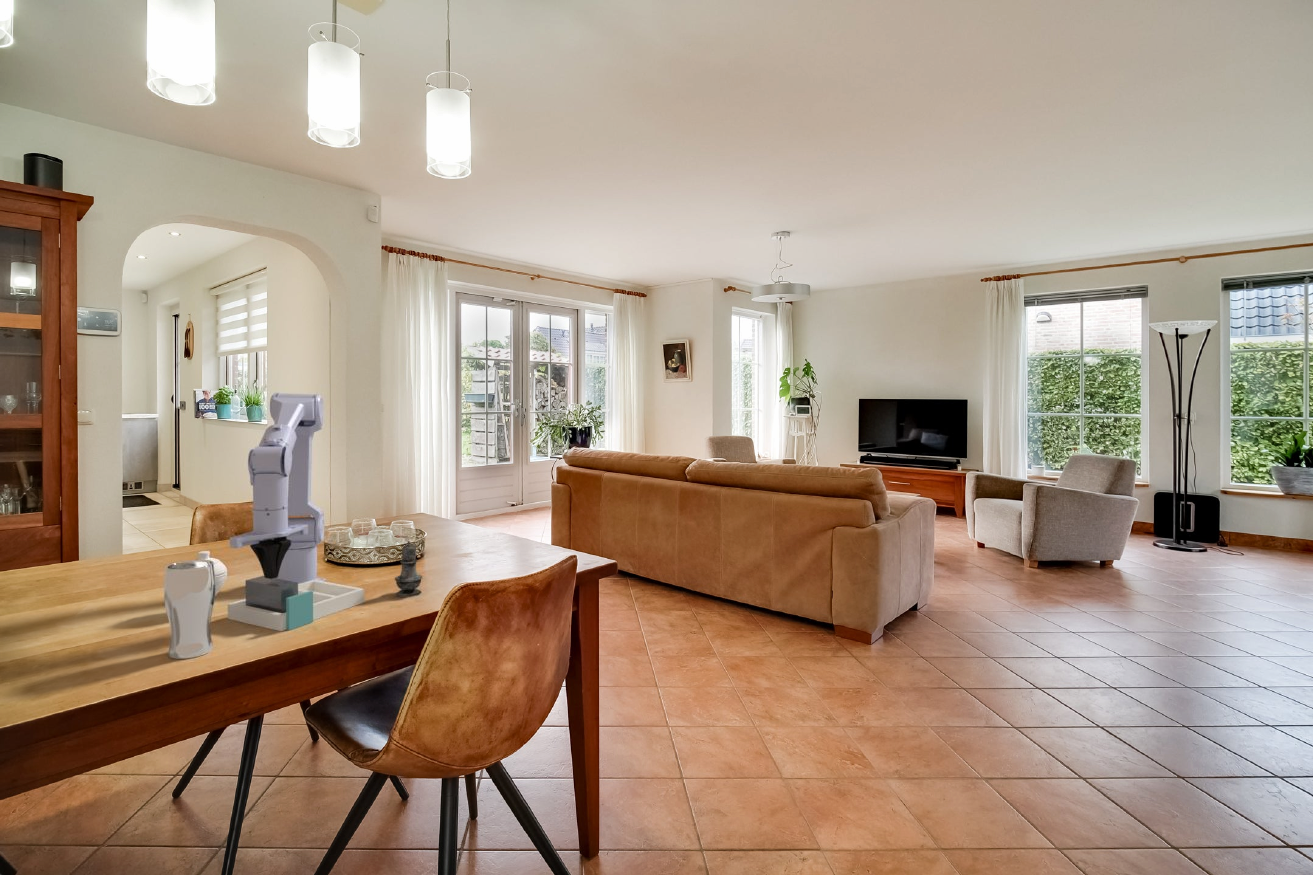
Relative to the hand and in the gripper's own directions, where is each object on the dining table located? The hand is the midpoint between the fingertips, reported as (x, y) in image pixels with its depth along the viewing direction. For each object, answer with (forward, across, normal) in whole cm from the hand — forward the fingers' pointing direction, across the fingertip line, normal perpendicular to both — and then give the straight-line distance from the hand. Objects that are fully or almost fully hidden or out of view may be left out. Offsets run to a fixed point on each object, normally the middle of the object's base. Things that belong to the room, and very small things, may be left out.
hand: (271, 577), depth 122 cm
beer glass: (+8, -16, -3) cm, 19 cm away
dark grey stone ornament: (+8, +24, -11) cm, 28 cm away
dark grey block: (+8, 0, 0) cm, 8 cm away
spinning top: (+8, -2, +16) cm, 18 cm away
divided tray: (+8, +6, 0) cm, 10 cm away
